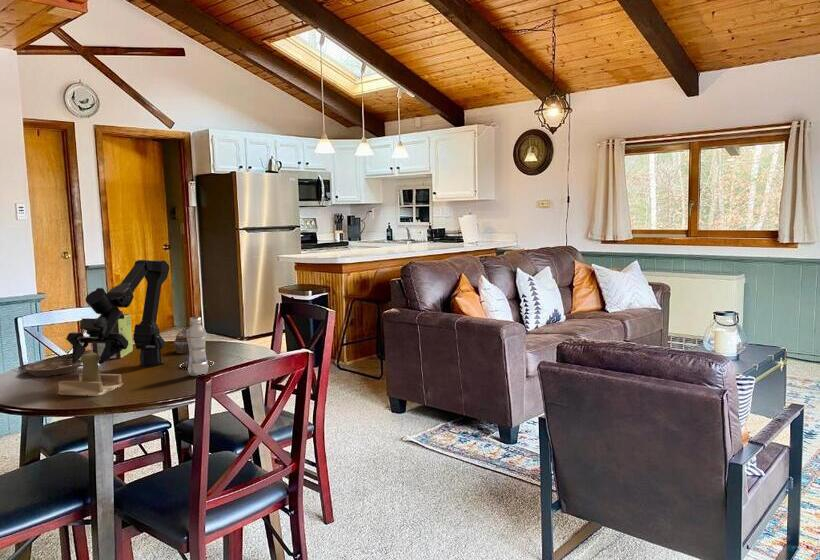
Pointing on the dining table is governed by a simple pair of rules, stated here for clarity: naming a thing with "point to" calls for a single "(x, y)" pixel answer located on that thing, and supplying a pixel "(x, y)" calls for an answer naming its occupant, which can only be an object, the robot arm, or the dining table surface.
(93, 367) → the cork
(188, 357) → the patterned bowl
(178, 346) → the cupcake
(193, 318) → the plastic bottle
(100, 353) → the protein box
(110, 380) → the cradle
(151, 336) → the robot arm
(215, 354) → the dining table surface
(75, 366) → the plant saucer
